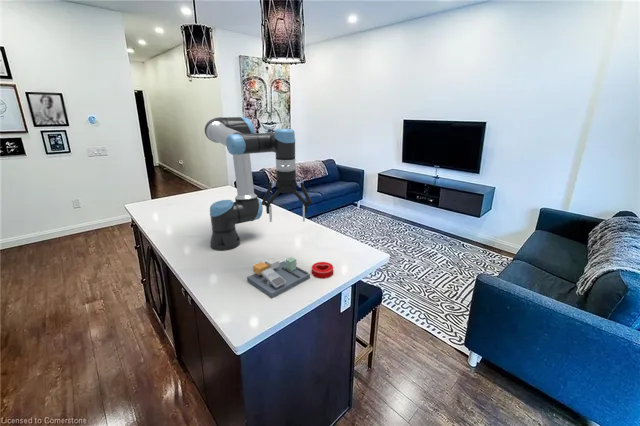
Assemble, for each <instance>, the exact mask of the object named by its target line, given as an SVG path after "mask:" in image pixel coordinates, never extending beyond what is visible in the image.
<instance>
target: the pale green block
mask: <svg viewBox="0 0 640 426" xmlns="http://www.w3.org/2000/svg"><path fill="white" fill-rule="evenodd" d="M285 261H286V268H287V270H289V271H293V270H295V269H296V267H297V259H296V258H294V257H292V256H290V257H289V258H287V259H285Z"/></svg>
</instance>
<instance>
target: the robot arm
mask: <svg viewBox="0 0 640 426" xmlns="http://www.w3.org/2000/svg"><path fill="white" fill-rule="evenodd" d="M204 126H205V127H204V135H205V136H206V138H207V139H208V140H210V141H211V142H213V143H215V144H216V143H217V144H221V145H224V146H225V147H226V149H227V151H228V153H229V154H230V155H232V161H233V168H234V175H235V176H234V177H235V183H236V193H237V195H236V196H235V197H234V200H235V201H233V200H232V199H221V200H218V201H215V202H214V203H212V204H211V205H210V207H209V216H210V224H211V231H212V232H211V233H212V234H211V237H210V241H209V243H210V244H209V245H210V248H211V249H212V250H215V251H228V250H233V249H235V248H237V247H239V246H240V245H241V239H240V236H239V234H238V232H237V230H236V225H239V224H242V223H247V222H254V221H257V220H260V219H261V218H262V214H263V211H264V210H263V209H264V208H263V206H265V209H266V211H265V213H266V214H269V215H268V216H269V218H268V219H269V223H272V221H273V213H272V212H273V211H272V210H273V209H272V208H273V207H272V203H273V202H274V201H275V199H277V197H278V196H279V195H280V193H282V194H291V193H293V195H295V197H297V199H298V200H299V201H300V202H301V203H302V222H306V217H305V215H306V214H308V206H309V205H312V204H313V201H312V199H311V198H310V196H309V193H308V190H306V187H305V185H304V181H303V180H301V181H297V176H296V175H297V173H296V137H295V130H294V129H292V128H276V129H275V130H274V132H272V131H267V132H262V133H261V132H259V133H257V132H256V130H255V127H254V124H253V122H252V120H251V119H250V118H248V117H242V116H236V117H235V116H234V117H233V116H232V117H223V116H222V117H221V116H220V117H218V116H217V117H214V118H212V119H210V120H208V121H207V123H206V124H205V125H204ZM260 153H261V154H262V153H275V167H276V171H275V173H276V182H273V181H272V180H271V181H269V183H268V187H267V190H266V192H265V194H264V197H263V198H262V200H261V199H260V198H258V195H257V194H256V193H255V189H254V182H253V181H254V180H253V170H252V161H251V155H250V154H260ZM297 186H298V188H299V189H301V191H302V194H303V195H304V196H305V198H304V197H303V196H302V195H301V193H300V192H298V190H297V189H296V187H297ZM274 187H276V188H277V190H276V191H275V192H274V193H273V195H272V196H271V197H270V198H269V199H268V197H269V195H270V193H271V191H272V188H274ZM267 199H268V200H267Z"/></svg>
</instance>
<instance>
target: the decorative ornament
mask: <svg viewBox="0 0 640 426" xmlns="http://www.w3.org/2000/svg"><path fill="white" fill-rule="evenodd" d="M311 275H312V276H313V277H314V278H317V279H329V278H331V277H332V276H333V275H334V266H333V264H332V263H330V262H326V261H319V262H318V261H317V262H315V263H313V264H312V265H311Z"/></svg>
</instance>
